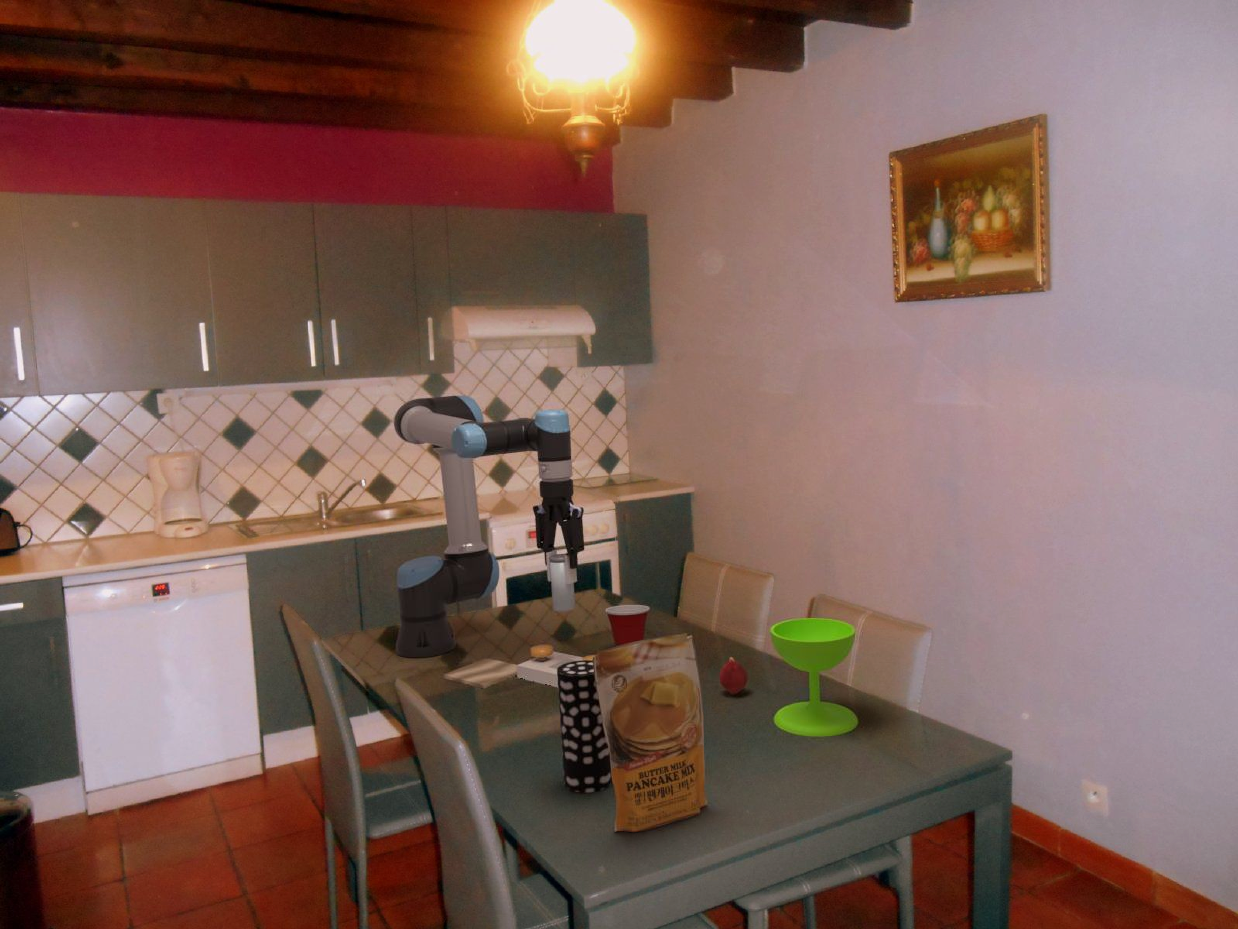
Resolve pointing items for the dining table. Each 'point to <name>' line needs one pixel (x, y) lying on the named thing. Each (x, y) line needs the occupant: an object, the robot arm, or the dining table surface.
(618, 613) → the plastic cup
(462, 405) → the robot arm
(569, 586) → the cylinder
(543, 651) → the plunger left
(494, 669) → the board
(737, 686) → the onion
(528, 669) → the block
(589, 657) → the plunger right
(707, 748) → the dining table surface
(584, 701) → the white-spotted black cylinder
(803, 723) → the wineglass
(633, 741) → the pancake mix bag
